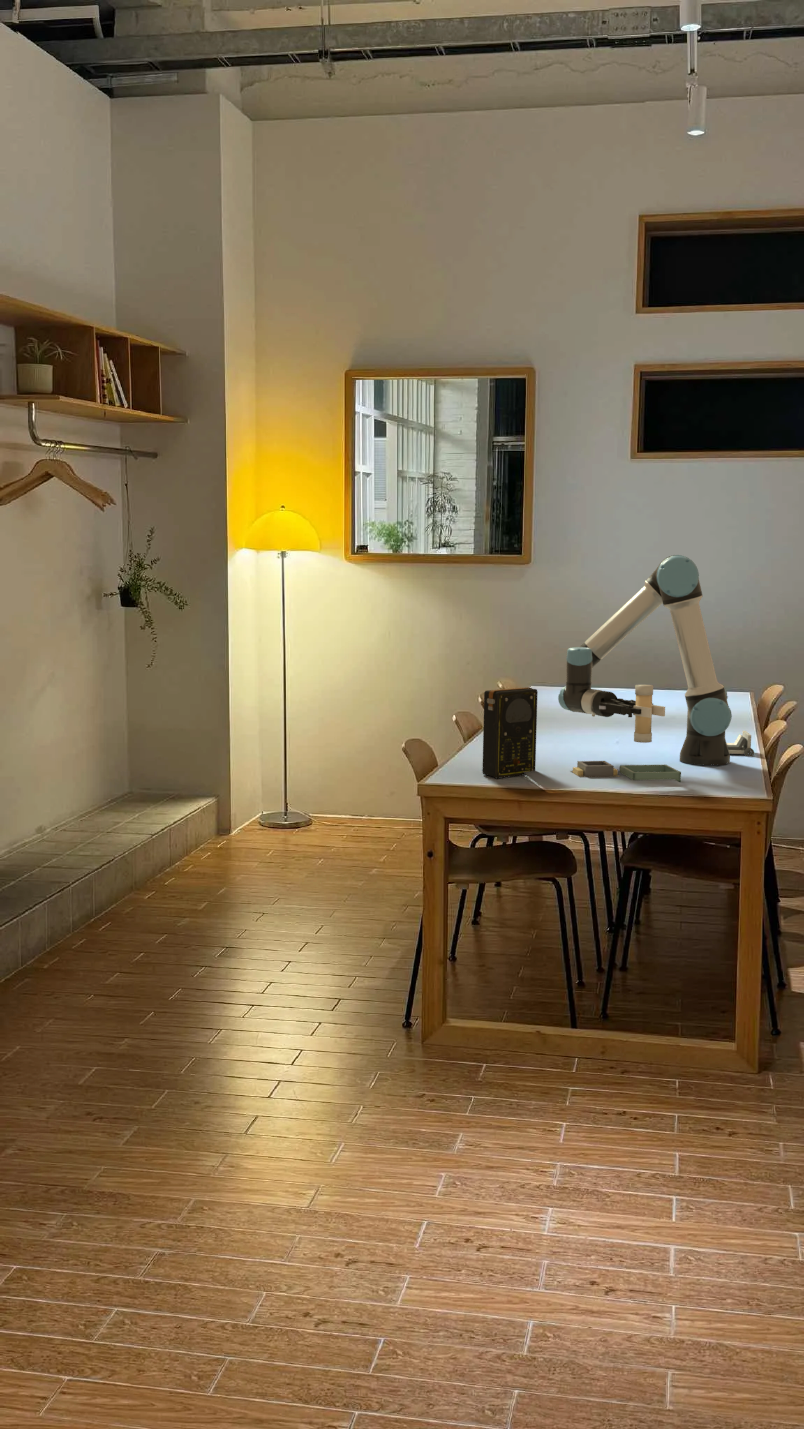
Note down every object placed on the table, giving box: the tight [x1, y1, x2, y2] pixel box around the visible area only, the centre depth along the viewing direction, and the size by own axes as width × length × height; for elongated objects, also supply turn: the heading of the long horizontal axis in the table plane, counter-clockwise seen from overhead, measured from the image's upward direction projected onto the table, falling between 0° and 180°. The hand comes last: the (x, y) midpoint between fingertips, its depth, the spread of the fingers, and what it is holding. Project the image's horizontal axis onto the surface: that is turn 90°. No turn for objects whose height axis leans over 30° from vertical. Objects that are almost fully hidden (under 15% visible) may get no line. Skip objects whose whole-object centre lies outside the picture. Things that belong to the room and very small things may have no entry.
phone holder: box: [726, 730, 755, 757], centre depth 425 cm, size 18×10×12 cm
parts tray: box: [619, 764, 682, 783], centre depth 378 cm, size 14×12×3 cm
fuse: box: [633, 684, 654, 744], centre depth 376 cm, size 5×5×16 cm
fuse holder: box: [569, 760, 621, 778], centre depth 379 cm, size 12×10×4 cm
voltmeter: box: [482, 686, 538, 780], centre depth 380 cm, size 16×9×25 cm, turn 126°
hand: (657, 712), depth 371 cm, fingers closed on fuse, 4 cm apart
